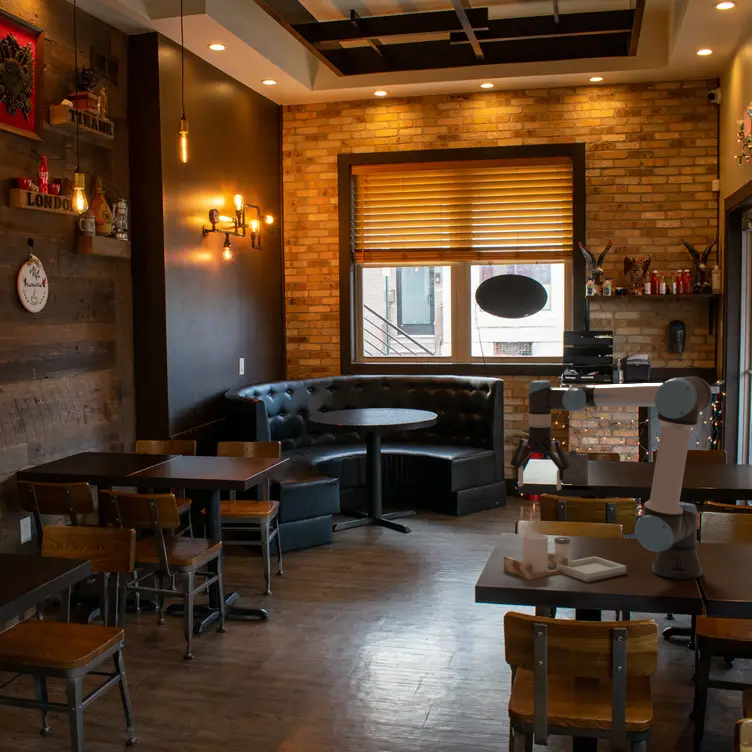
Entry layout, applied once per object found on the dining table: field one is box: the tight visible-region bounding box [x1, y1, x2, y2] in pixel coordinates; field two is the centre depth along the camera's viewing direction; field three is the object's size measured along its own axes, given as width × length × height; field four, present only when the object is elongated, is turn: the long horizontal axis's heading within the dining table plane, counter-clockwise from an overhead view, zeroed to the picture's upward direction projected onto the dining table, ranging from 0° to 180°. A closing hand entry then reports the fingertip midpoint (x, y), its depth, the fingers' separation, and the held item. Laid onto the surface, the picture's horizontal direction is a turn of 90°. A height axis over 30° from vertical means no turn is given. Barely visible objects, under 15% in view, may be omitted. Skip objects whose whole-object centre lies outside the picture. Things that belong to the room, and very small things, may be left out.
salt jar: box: [553, 536, 571, 561], centre depth 300 cm, size 5×5×9 cm
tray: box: [557, 555, 627, 583], centre depth 292 cm, size 14×17×2 cm
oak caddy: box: [503, 551, 568, 580], centre depth 294 cm, size 13×16×4 cm
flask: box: [557, 449, 589, 486], centre depth 439 cm, size 4×14×18 cm, turn 78°
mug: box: [522, 532, 549, 574], centre depth 294 cm, size 12×8×12 cm
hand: (539, 487), depth 307 cm, fingers open, 13 cm apart
